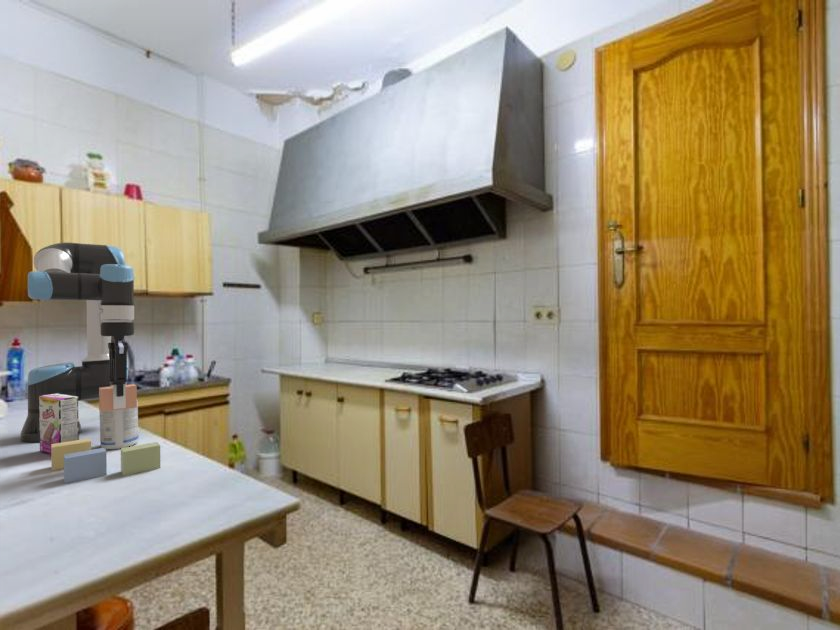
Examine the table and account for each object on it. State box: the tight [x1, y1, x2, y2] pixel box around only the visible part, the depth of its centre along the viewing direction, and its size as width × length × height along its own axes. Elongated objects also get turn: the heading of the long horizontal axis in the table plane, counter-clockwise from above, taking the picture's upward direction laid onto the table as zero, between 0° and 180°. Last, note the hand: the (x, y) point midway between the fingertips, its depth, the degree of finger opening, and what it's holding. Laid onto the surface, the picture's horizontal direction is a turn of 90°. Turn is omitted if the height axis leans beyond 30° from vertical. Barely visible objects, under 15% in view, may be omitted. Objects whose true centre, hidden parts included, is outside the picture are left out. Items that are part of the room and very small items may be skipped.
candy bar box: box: [39, 393, 80, 455], centre depth 125 cm, size 11×5×16 cm, turn 65°
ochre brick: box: [50, 437, 92, 471], centre depth 115 cm, size 8×4×6 cm, turn 132°
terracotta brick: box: [98, 383, 138, 412], centre depth 118 cm, size 8×4×6 cm, turn 132°
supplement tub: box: [99, 401, 140, 450], centre depth 132 cm, size 10×10×15 cm
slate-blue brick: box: [63, 447, 108, 484], centre depth 106 cm, size 8×4×6 cm, turn 132°
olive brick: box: [120, 441, 161, 477], centre depth 111 cm, size 8×4×6 cm, turn 132°
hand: (118, 406), depth 118 cm, fingers closed on terracotta brick, 4 cm apart
